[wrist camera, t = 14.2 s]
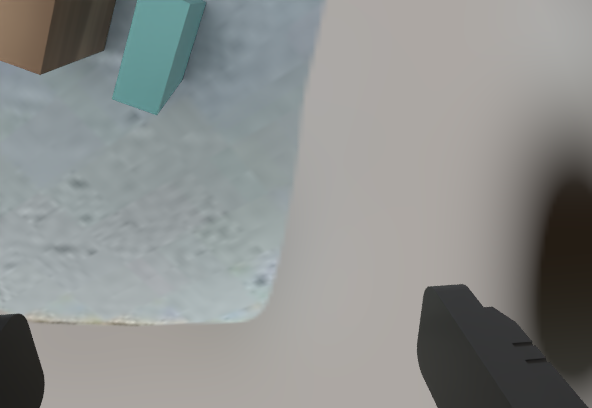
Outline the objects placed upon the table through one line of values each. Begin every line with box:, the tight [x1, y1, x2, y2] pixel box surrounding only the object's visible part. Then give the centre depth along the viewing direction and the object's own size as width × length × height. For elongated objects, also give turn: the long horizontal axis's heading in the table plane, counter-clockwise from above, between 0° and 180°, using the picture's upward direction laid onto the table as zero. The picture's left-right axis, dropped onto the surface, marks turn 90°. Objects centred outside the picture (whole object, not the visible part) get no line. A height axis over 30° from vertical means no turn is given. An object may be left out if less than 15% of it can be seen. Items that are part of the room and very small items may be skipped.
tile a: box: [0, 0, 116, 75], centre depth 23 cm, size 2×5×10 cm, turn 157°
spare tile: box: [112, 0, 206, 115], centre depth 24 cm, size 2×5×10 cm, turn 158°
